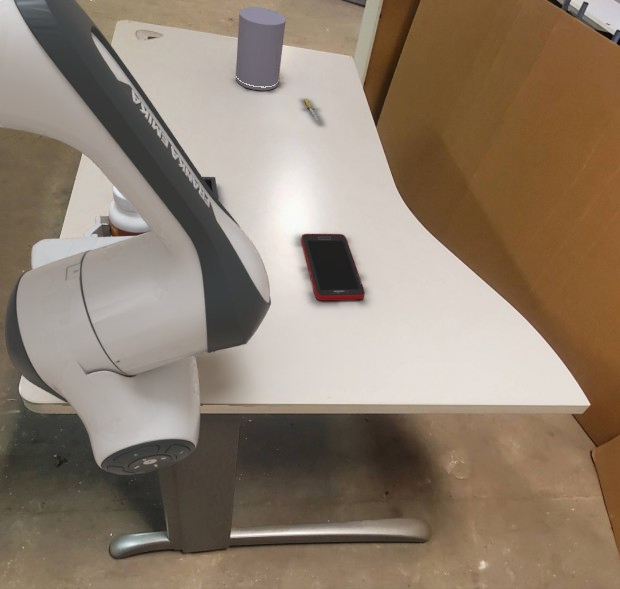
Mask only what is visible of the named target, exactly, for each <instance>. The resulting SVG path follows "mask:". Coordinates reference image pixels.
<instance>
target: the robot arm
mask: <svg viewBox="0 0 620 589" xmlns="http://www.w3.org/2000/svg"><path fill="white" fill-rule="evenodd" d="M1 128H2V129H8V130H9V129H10V130H15V131H16V130H17V131H21V132H26V133H27V132H28V133H32V134H35V135H40V136H43V137H47V138H50V139H53V140H55V141H58V142H61V143H63V144H65V145H68V146H69V147H71V148H72V149H74V150H76V151H78V152H79V153H81V154H82V155H84V156H85V157H87V158H88V159H89V160H90V161H91V162H92V163H94V164H95V166H96V167H97V168H98V169H99V170H100V172H102V174H103V175H104V176H105V177H106V178H107V179H108V181H109V182H110V183H111V184H112V186H113V185H114V186H115V187H116V189H117V190H118V191H119V192H120V193H121V194H122V196H123V197H124V198H125V199H126V200H127V202H128V203H129V204H130V205H131V206H132V207H133V209H134V210H135V211H136V212H137V213H138V215H139V216H140V217H141V218H142V219H143V220H144V222H145V223H146V224H147V225H148V226H149V227H150V229H151V230H152V231H150V232H147V233H144V234H141V235H138V236H117V237H112V236H111V228H110V221H109V215H96V216H95V220H94V221H95V222H94V224H93V225H92V226H91V227H90V228H88V230H86V231H85V232H84V233H83V234H82V235H83V236H82V237H66V238H65V237H63V238H43V239H41V240H39V241H38V242H36V243H35V244H33V245H32V248H31V254H30V255H31V256H30V262H31V263H30V264H31V269H30V270H26V271H25V272H23V273H22V274H21V275H20V276H19V277H18V279H16V282H15V283H14V285H13V287H12V289H11V291H10V294H9V297H8V300H7V304H6V310H5V320H4V341H5V347H6V351H7V355H8V357H9V359H10V362H11V364H12V365H13V367H14V368H15V370H17V372H18V373H19V374H21V376H22V377H24V379H26V380H27V381H28V382H29V383H31V384H32V385H33V386H36V387H37V388H39V389H41V390H43V391H45V392H47V393H48V394H50V395H51V396H54V397H55V398H57V399H59V400H60V401H63V402H65V403H67V404H69V405H70V407H71V408H72V409H73V410H74V412H75V413H76V415H77V416H78V418H79V419H80V421H81V422H82V425H83V426H84V428H85V430H86V432H87V433H86V434H87V435H88V438H89V442H90V447H91V450H92V454H93V458H94V461H95V463H96V464H97V466H98V467H99V468H100V469H101V470H104V471H106V472H108V473H112V474H114V475H123V476H131V475H139V474H146V473H151V472H153V471H157V470H160V469H163V468H166V467H169V466H171V465H174V464H177V463H179V462H181V461H184V459H185V458H187V457H188V456H190V455H191V454H192V453H193V452H194V451H195V449H196V448H197V446H198V442H199V439H200V429H201V388H200V376H199V367H198V361H197V358H196V356H197V355H200V354H203V353H207V354H210V353H215V352H219V351H222V350H227V349H231V348H235V347H240V346H244V345H247V344H248V342H250V340H251V339H252V337H253V336H254V335H255V333H256V332H257V330H258V329H259V328H260V326H261V324H262V322H264V319H265V317H266V316H267V313H268V312H269V309H270V307H271V305H272V298H271V288H270V281H269V276H268V272H267V269H266V265H265V263H264V260H263V259H262V256H261V254H260V252H259V250H258V248H257V247H256V245H255V244H254V242H253V241H252V239H251V238H250V237H249V236H248V234H247V233H245V231H244V230H243V229H242V228H241V226H240V224H239V223H238V222H237V221H236V220H235V218H234V217H233V216H232V215H231V213H230V212H229V211H228V210H227V209H226V207H225V206H224V205H223V204H222V202H221V201H220V200H219V198H218V199H217V198H216V196H215V195H214V194H213V192H212V191H211V189H210V188H209V187H208V185H207V184H206V182H205V181H204V179H203V178H202V177H203V176H202V175H201V174H200V172H199V170H198V169H197V168H196V166H195V164H194V163H193V161H192V160H191V159H190V157H189V155H188V154H187V153H186V151H185V149H184V148H183V147H182V145H181V143H180V142H179V141H178V139H177V138H176V137H175V135H174V133H173V132H172V131H171V129H170V127H169V126H168V125H167V123H166V121H165V120H164V119H163V117H162V116H161V114H160V112H159V111H158V110H157V108H156V107H155V105H154V104H153V103H152V101H151V99H150V98H149V97H148V95H147V94H146V93H145V91H144V90H143V88H142V86H140V84H139V82H138V80H136V78H135V76H134V75H133V74H132V72H131V71H130V70H129V68H128V67H127V65H126V64H125V63H124V61H123V60H122V59H121V57H120V55H119V54H118V53H117V51H116V50H115V49H114V47H113V46H112V44H111V43H110V41H108V39H107V38H106V36H105V35H104V34H103V32H102V31H101V29H99V27H98V26H97V25H96V23H95V22H94V21H93V19H91V17H90V16H89V15H88V13H87V12H86V10H84V8H83V7H82V6H81V5H80V4H79V3H78V1H77V0H0V129H1Z"/></svg>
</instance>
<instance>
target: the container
mask: <svg viewBox="0 0 620 589" xmlns="http://www.w3.org/2000/svg"><path fill="white" fill-rule="evenodd" d="M286 20H287V18H286V17H285V16H284V15H283V13H280V12H279V11H277V10H273V9H270V8H265V7H259V6H258V7H257V6H255V7H254V6H252V7H249V6H248V7H244V8H241V9H240V10H239V15H238V29H237V30H238V31H237V48H236V65H235V80H236V82H237V83H238V84H239V85H240V86H242V87H243V88H245V89H248V90H251V91H257V92H259V91H260V92H266V91H272V90H273V89H275V88H277V87H278V86H279V81H278V80H279V79H280V71H281V63H282V55H283V48H284V47H283V46H284V38H285V37H284V36H285V29H286V22H287V21H286ZM236 76H237V78H239V80H241V81H242V82H244V83H247V84H250V85H254V86H264V87H265V86H272V85H274V84H276V83H277V82H278V83H277V84H276V85H275V86H272V87H266V88H261V87H253V86H249V85H246V84H244V83H242V82H240V81H239V80H238V79H237V78H236Z"/></svg>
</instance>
